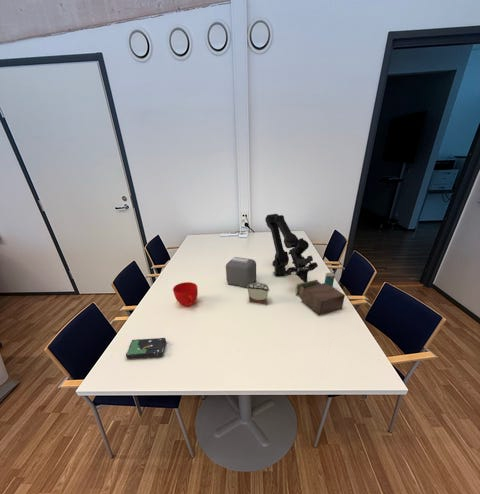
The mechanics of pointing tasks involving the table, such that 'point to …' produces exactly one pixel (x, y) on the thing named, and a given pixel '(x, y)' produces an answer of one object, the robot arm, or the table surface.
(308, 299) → the cabinet
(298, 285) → the drawer
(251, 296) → the food container
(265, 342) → the table surface
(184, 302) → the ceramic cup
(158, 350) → the disk drive
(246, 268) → the alarm clock
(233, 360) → the table surface
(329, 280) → the tea tin
